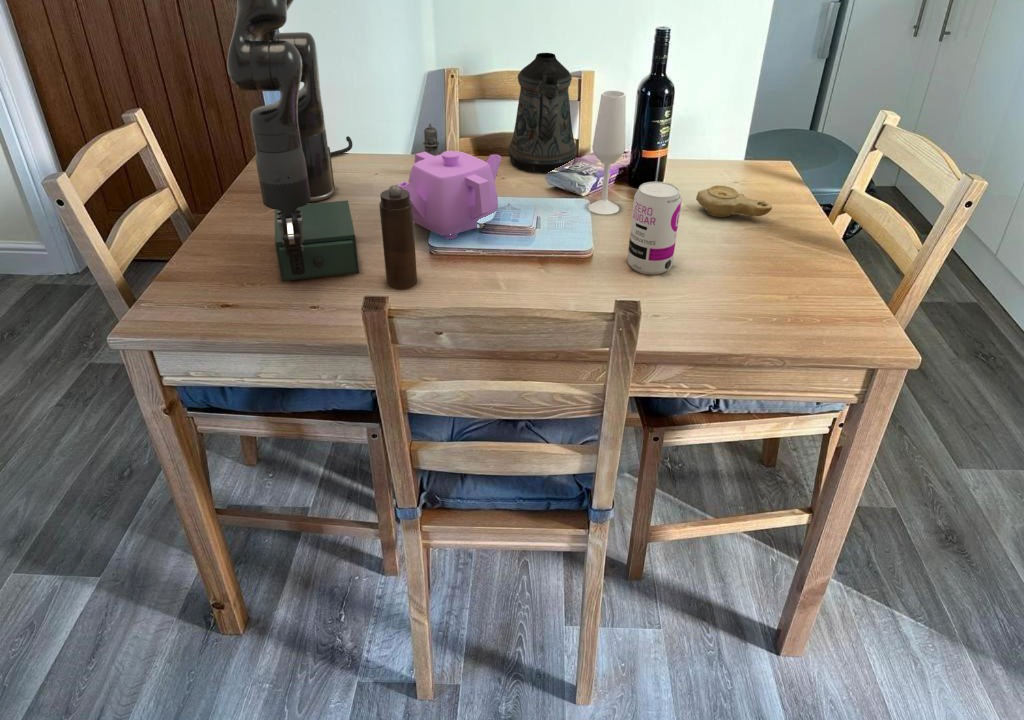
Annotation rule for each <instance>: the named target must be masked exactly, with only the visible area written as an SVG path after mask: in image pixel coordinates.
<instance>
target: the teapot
mask: <svg viewBox="0 0 1024 720" xmlns="http://www.w3.org/2000/svg"><path fill="white" fill-rule="evenodd" d="M501 161H502V156H501V155H499V154H489V156H488V159H487V160H486V161H484V160H483V159H481V158H479V157H476V156H474V155H471V154H469V153H466V152H463V151H456V150H445V151H442V152H441V154H439V155H437V156H433V155H431V154H429V153H427V152H425V151H421V152H418V153H415V154H414V163H413V164H412V167H411V170H410V173H409V178H408V181H405V180H403V181H402V182H400V183H398V184H396V185H397V186H399V187H400V189H404V190H407V191H408V192H409V193H410V200H411V201H412V210H413V222H414V223H416V224H417V225H419V226H420V227H422V228H424V229H425V230H428V231H430V232H432V231H433V232H432V233H434V232H435V233H434V234H436V233H437V235H439V234H440V236H441V237H442V238H443V239H445V240H454V239H457V237H458V234H459V233H463V232H467V231H470V230H473V229H474V230H479V229H478V228H477V221H478V220H479V219H481V218H483V217H486V216H488V215H490V214H492V213H494V212H495V211H498V209H499V198H498V191H497V185H496V178H497V176H498V171H499V168H500V165H501ZM450 234H451V235H450Z"/></svg>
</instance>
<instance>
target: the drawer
mask: <svg viewBox="0 0 1024 720" xmlns="http://www.w3.org/2000/svg"><path fill="white" fill-rule="evenodd" d="M302 245H303V248H302V249H303V260H304V266H305V273H304V274H301V275H293V274H292V271H291V265H290V259H289V256H287V254H286V248H285V246H284V247H279V250H280V256H281V261H282V267H283V273H284V278H285V279H294V278H303V277H312V276H322V275H331V274H341V273H350V272H356V267H355V259H354V250H353V242H352V240H348V239H347V240H337V241H327V242H316V243H306V244H302Z"/></svg>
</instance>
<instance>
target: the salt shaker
mask: <svg viewBox="0 0 1024 720" xmlns="http://www.w3.org/2000/svg"><path fill="white" fill-rule="evenodd" d="M432 125H433V124H432V123H429V124H428V127H425V128H424V131H423V135H424V142H423V143H422V144H423V146H424V152H427V153H429V154H431V155H433V156H437V155H440V154H439V145H440V142H439V141H438V131H437V129H436V128H435V127H433V126H432Z"/></svg>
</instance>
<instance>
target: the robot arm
mask: <svg viewBox="0 0 1024 720" xmlns="http://www.w3.org/2000/svg"><path fill="white" fill-rule="evenodd" d="M293 3H294V0H236V16H235V22H234V26H233V32H232V36H231V40H230V43H229V48H228V52H227V57H226V68H227V73H228V76H229V79H230V81H231V83H232V84H233V85H234V86H235V87H236V88H237V89H238V90H239V91H242V92H249V93H250V92H251V93H253V92H279V94H280V96H279V100H278V101H276V102H273V103H269V104H266V105H261V106H259V107H256V108H254V109H252V111H251V112H250V115H249V119H250V120H249V121H250V127H251V133H252V138H253V139H252V140H253V143H254V150H255V165H256V171H257V177H258V183H259V187H260V193H261V198H262V203H263V205H264V206H265V207H266V208H269V209H271V210H275V209H277V210H280V211H281V212H277V216H278V217H277V222H278V228H279V229H280V230H281V236H282V242H283V244H285V248H286V254H287V256H289V259H290V265H291V271H292V274H293V275H301V274H304V273H305V266H304V260H303V249H302V248H303V245H302V242H303V241H304V238H303V228H302V226H303V221H302V211H301V210H298V209H296V208H298V207H302V206H304V205H306V204H310V203H317V202H322V201H325V200H328V199H330V198H331V197H333V196H334V193H335V189H336V188H335V187H336V185H335V179H334V178H335V177H334V171H333V163H332V157H334V156H339V155H343V154H345V153H348V152H350V151H351V150H352V149H353V141H352V138H351V137H350V136H349V135H348V136H346V137H345V140H346V142H347V143H348V145H347V147H345V148H342V149H338V150H333V151H331V148H330V146H329V144H328V137H327V136H328V135H327V129H326V128H327V127H326V122H325V115H324V107H323V101H322V94H321V85H320V84H321V83H320V72H319V59H318V58H319V57H318V50H317V45H316V40H315V38H314V36H313V35H312V34H311V33H309V32H304V31H303V32H301V31H298V32H277V30H279V29H281V28H283V27H284V26H285V25H286V23H287V19H288V11H289V9H290V8H291V6H292V4H293ZM301 83H303V84H304V85H303V86H302V87H301V88H300V86H301Z"/></svg>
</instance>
